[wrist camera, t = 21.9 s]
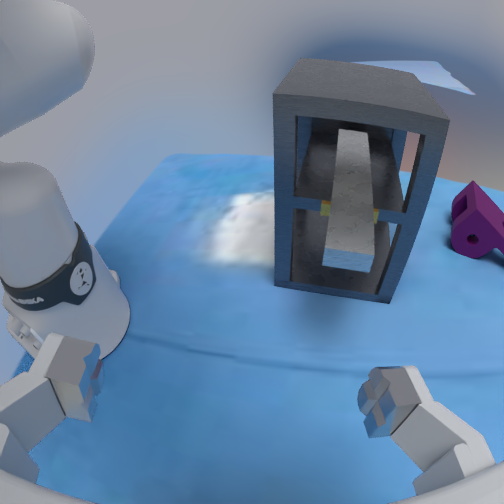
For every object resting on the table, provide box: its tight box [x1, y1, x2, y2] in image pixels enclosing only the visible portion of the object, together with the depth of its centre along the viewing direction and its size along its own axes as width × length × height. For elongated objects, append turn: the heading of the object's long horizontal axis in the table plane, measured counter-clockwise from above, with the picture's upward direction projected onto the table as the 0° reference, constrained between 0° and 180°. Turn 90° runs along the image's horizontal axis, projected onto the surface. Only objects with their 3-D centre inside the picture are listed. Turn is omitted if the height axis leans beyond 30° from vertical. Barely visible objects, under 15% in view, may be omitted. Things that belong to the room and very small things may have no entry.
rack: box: [273, 58, 450, 304], centre depth 40 cm, size 16×20×26 cm
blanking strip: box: [322, 129, 374, 273], centre depth 33 cm, size 4×24×2 cm, turn 165°
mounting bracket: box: [451, 181, 504, 258], centre depth 46 cm, size 10×8×18 cm
